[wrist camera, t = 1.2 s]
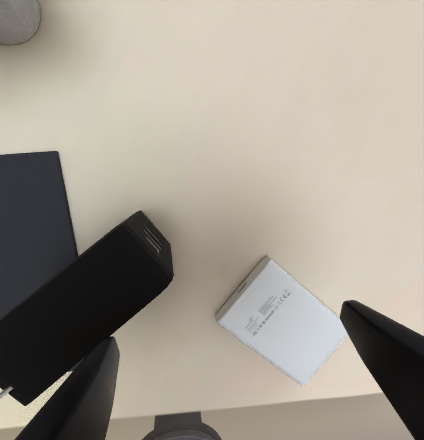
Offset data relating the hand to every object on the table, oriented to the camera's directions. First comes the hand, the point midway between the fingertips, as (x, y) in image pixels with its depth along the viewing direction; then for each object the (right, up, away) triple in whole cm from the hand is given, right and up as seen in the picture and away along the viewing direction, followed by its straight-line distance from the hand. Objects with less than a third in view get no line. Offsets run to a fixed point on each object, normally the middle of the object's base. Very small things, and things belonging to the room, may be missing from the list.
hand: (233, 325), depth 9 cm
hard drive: (+7, -6, +16) cm, 19 cm away
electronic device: (-10, 0, +12) cm, 16 cm away
